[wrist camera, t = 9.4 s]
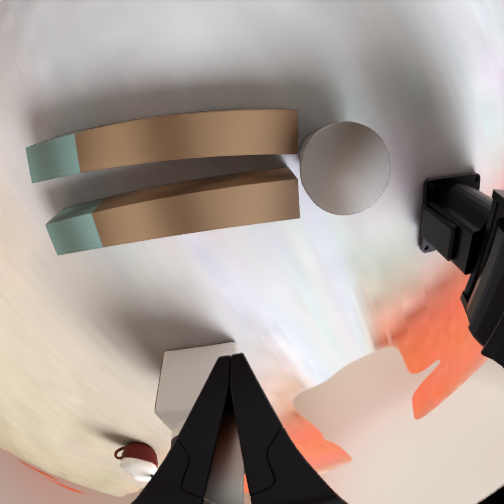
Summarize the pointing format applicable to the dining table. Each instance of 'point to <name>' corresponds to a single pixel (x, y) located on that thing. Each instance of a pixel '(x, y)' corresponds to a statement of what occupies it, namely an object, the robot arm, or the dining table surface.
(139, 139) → the tong leg
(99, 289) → the dining table surface
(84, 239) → the base
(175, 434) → the medicine bottle
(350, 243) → the dining table surface
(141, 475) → the cocoa
